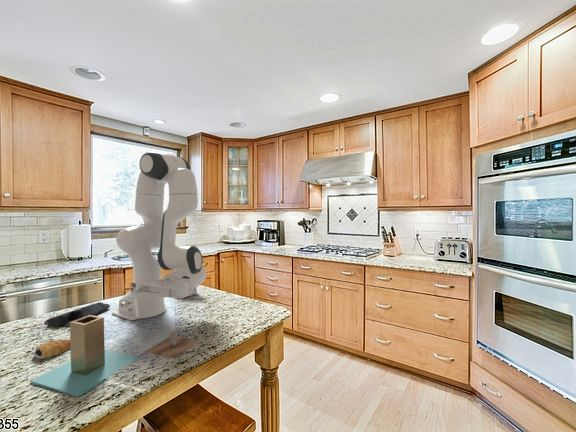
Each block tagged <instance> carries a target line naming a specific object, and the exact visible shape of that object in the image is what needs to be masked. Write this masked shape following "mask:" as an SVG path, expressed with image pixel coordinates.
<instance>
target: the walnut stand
mask: <svg viewBox="0 0 576 432" xmlns="http://www.w3.org/2000/svg"><path fill="white" fill-rule="evenodd" d="M198 342H200V339H193V338H188V337H183V336H178V335H177V331H176V330H171V331H170V333H169V336H168V337H166V338H165V339H163V340H162V341H160V342H159V343H157V344H155V345H153V346H152V347H150V348H148V349H147V350H145V351H144V353H147V354H151V355H156V356H163V357H166V358H167V357H168V358H171V359H177V358H178V357H179V356H181V355H182V354H183V353H185V352H187V350H189V349H191V348H192V347H193V346H194V345H196V344H198Z"/></svg>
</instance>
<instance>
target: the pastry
mask: <svg viewBox="0 0 576 432" xmlns="http://www.w3.org/2000/svg"><path fill="white" fill-rule="evenodd" d="M68 350H71V346H70V339H63V340H61V339H59V340H52V341H48V342H47V343H43V344H40V345H39V346H36V347H35V349H34V352H33V355H34V357H35V358H36V359H39V360H47V359H50V358H53V357H54V356H59V355H60V354H62V353H65V352H66V351H68Z"/></svg>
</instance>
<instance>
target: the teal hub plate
mask: <svg viewBox="0 0 576 432" xmlns="http://www.w3.org/2000/svg"><path fill="white" fill-rule="evenodd" d="M137 359H140V357H139V356H135V355H131V354H125V353H121V352H115V351H112V350H107V349H105V365H103V366H102V367H100V368H98V369H96V370H95V371H93V372H91V373H89V374H88V375H86V376H85V375H81V374H77V373H73V372H71V360H70V361H67V362H66V363H64V364H61V365H59V366H58V367H55V368H53V369H52V370H49V371H47V372H45V373H43V374H42V375H40V376H37V377H36V378H33V379H30V381H29V383H30V382H31V383H34V384H33V385H35V384H37V385H36V386H38V385H41V386H44V387H43V388H45V387H47V388H46V389H48V388H51V389H54V390H57V391H56V392H58V391H61V392H63V393H62V394H64V393H67V394H66V395H68V394H70V395H69V396H71V395H72V397H74V396H76V397H75V398H80V397H81V396H83V395H84V394H87V393H88V392H89V391H91V390H92V389H94V388H96V387H97V386H99V385H101V384H102V383H104V382H106V381H107V380H108V378H109V377H110V376H112V375H114V374H115V373H116V372H118V371H120V370H121V369H123V368H125V367H126V366H128V365H130V364H132V363H133V362H134V361H135V360H137ZM31 383H30V384H31ZM41 386H40V387H41ZM95 386H96V387H95ZM51 389H50V390H51ZM54 390H53V391H54ZM61 392H60V393H61ZM79 396H80V397H79Z"/></svg>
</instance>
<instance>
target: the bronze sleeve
mask: <svg viewBox="0 0 576 432" xmlns="http://www.w3.org/2000/svg"><path fill="white" fill-rule="evenodd" d="M69 334H70V335H69V336H70V337H69V340H70V346H71V348H70V361H71V372H73V373H77V374H81V375H85V376H86V375H88V374H89V373H91V372H93V371H95V370H96V369H98V368H100V367H102V366H103V365H105V350H106V349H105V317H103V316H98V315H95V316H93V315H89V316H86V317H83V318H81V319H78V320H75V321H72V322H70V327H69Z"/></svg>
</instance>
